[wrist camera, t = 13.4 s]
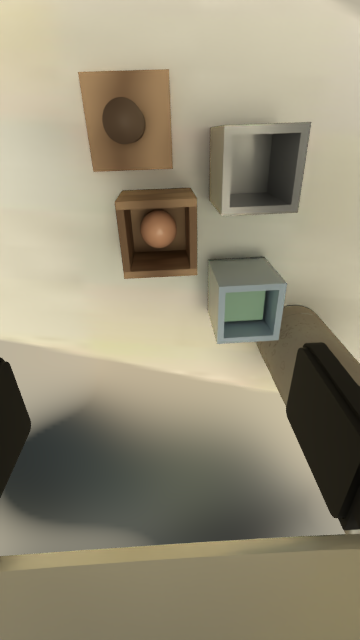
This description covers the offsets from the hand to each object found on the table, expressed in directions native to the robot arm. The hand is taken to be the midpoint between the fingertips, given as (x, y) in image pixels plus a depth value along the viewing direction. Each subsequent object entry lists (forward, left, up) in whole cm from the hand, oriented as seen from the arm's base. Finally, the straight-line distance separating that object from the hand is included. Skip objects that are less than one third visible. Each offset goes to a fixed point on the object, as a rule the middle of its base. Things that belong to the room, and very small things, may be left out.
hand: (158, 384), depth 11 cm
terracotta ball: (0, 0, -23) cm, 23 cm away
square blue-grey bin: (-8, +7, -24) cm, 26 cm away
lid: (+2, -8, -24) cm, 26 cm away
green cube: (-8, +7, -23) cm, 26 cm away
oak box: (0, 0, -24) cm, 24 cm away
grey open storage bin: (-8, -5, -24) cm, 26 cm away
